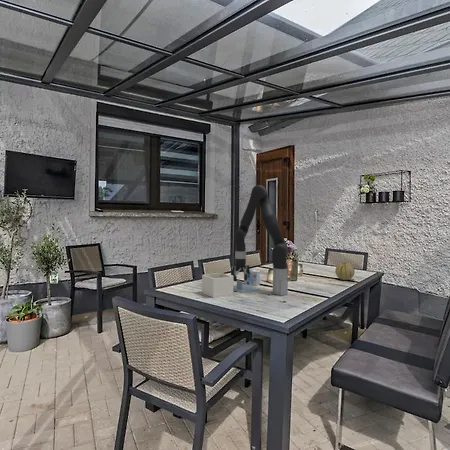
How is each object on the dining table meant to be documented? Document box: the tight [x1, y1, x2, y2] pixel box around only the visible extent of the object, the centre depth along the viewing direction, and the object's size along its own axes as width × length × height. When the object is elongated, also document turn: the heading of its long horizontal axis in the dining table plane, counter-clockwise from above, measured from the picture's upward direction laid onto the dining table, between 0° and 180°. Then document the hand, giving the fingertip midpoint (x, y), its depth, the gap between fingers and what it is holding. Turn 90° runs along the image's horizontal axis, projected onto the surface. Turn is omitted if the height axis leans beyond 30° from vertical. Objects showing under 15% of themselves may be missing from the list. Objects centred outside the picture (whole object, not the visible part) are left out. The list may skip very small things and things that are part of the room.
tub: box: [201, 272, 234, 299], centre depth 221 cm, size 15×15×12 cm
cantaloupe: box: [335, 261, 356, 281], centre depth 273 cm, size 15×15×15 cm
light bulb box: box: [243, 269, 261, 287], centre depth 251 cm, size 11×7×11 cm, turn 62°
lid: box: [233, 279, 261, 294], centre depth 237 cm, size 16×16×7 cm
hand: (240, 280), depth 234 cm, fingers open, 8 cm apart
